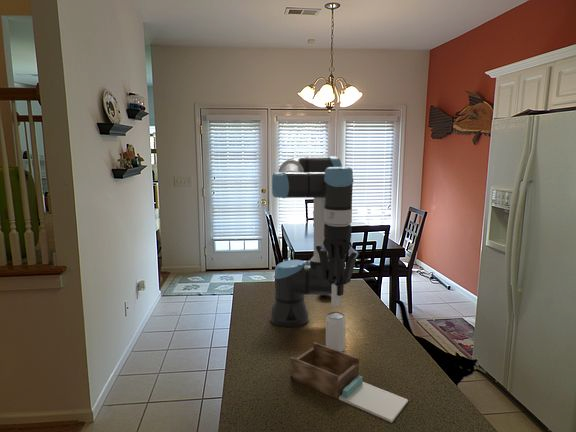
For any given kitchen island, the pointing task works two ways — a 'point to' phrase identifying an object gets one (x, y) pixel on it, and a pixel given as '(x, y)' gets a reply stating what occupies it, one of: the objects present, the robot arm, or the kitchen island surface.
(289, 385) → the kitchen island surface
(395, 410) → the lid
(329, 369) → the box
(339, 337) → the can
